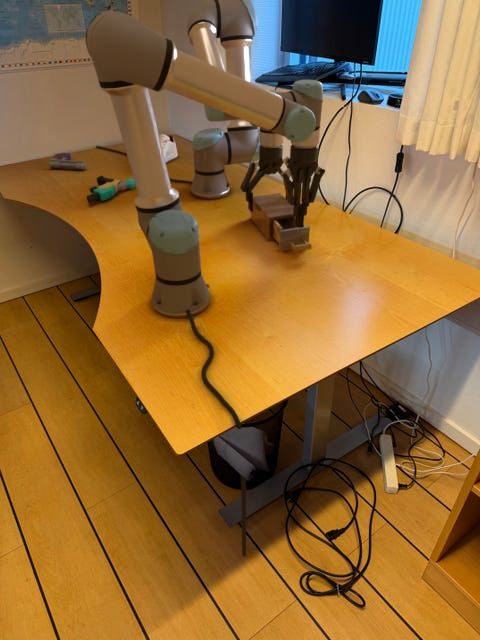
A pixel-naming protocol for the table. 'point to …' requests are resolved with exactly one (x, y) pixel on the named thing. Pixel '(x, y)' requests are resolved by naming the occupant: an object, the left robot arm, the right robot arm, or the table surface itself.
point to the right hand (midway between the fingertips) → (269, 207)
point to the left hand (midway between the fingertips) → (299, 225)
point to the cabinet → (269, 211)
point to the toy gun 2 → (108, 188)
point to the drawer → (290, 234)
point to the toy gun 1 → (66, 162)
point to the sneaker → (168, 147)
